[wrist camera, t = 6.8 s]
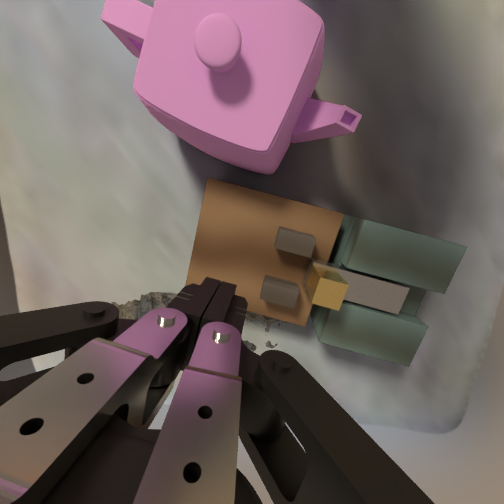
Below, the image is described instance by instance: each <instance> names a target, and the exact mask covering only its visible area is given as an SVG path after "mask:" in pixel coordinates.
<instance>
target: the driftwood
mask: <svg viewBox="0 0 504 504" xmlns="http://www.w3.org/2000/svg"><path fill="white" fill-rule="evenodd" d="M176 296H177V294H171V293H159V292H150V293H149V294H147V295H142V296H141V300H140V301H138V300H133V301H132V302H129V301H128V302H127V303H126V304H125V305H123V304H122V305H120V306H119V305H118V304H117V303H115V302H112V304H113V305H115V306H116V307H117V308H118V309H119V319H134V320H139V319H140V318H142V317H143V316H144V315H145V314H147V313H148V312H149V311H151V310H153V309H156V308H166V306H167V305H168V304H169V303H170V302H171V301H172V300H173V299H174V298H175V297H176ZM245 318H246V319H248V320H250V321H253V320H256V319H263V320H264V321H265V322H267V328H266V329H265V331H267V332H268V331H269V327H270V323H271V322H275V321H282V320H279V319H275V318H271V317H268V316H264V315H260V314H257V313H253V312H250V311H246V315H245ZM282 322H284V323H286V321H282ZM278 324H279V323H278ZM279 326H280V324H279ZM243 343H244V345H245V346H246V347H247V348H248V349H249V350H251V351H252V352H254V351H255V350H256V346H255V345H254V344H253V343H249V342H248V341H243ZM266 346H267V347H270V348H274V347H275V346H277V344H275V346H273V345H271V342H270V341H267V343H266Z"/></svg>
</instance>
